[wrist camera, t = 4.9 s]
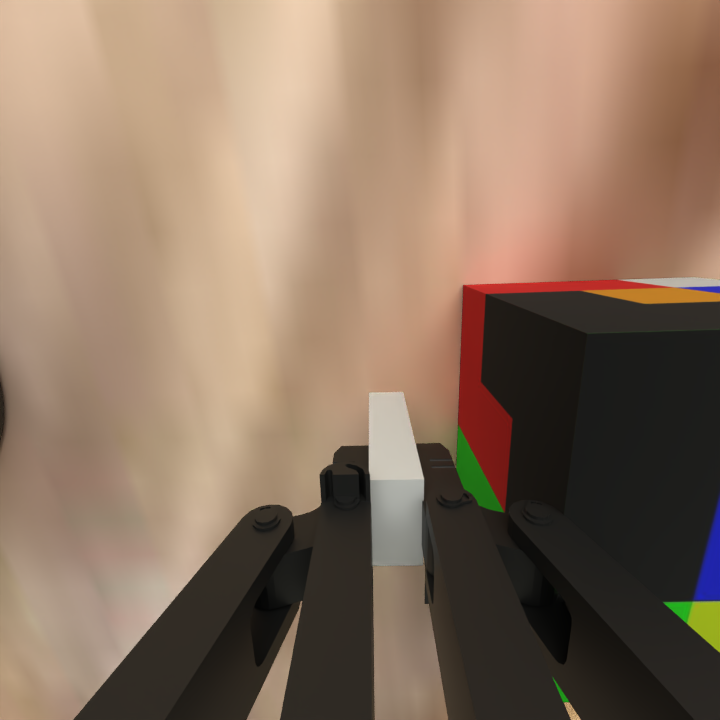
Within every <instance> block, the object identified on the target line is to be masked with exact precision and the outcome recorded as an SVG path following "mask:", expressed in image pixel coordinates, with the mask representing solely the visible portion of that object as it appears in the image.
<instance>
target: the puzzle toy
mask: <svg viewBox="0 0 720 720" xmlns="http://www.w3.org/2000/svg"><path fill="white" fill-rule="evenodd" d="M456 470H457V473H458V475H459V478H460V480H461V483H462V485H463V488H464V489H465V490H467V491H468V492H470V493H471V494H472V495H473V496H474V497H475V499H476V500H477V503H478V505H479V506H482V507H484V508H486V509H490V510H494V511H499V512H504V513H509V507H510V506H511V505H512V504H513V503H515V502H517V501H520V500H535V501H540V502H544V503H546V504H549V505H551V506H553V507H555V508H556V509H558V510H559V511H560V512H562V514H563V515H565V516H566V517H567V518H568V519H570V520H571V521H572V522H573V523H574V524H575V525H576V526H577V527H579V528H580V529H581V530H582V531H583V532H584V533H585V534H586V535H588V536H589V537H590V538H591V539H592V540H593V541H594V542H595V543H597V544H598V545H599V546H600V547H601V548H602V549H603V550H604V551H606V552H607V553H608V554H609V555H610V556H611V557H612V558H613V559H615V560H616V561H617V562H618V563H619V564H620V565H621V566H622V567H624V568H625V569H626V570H627V571H628V572H629V573H630V574H632V575H633V576H634V577H635V578H636V579H637V580H638V581H639V582H641V583H642V584H643V585H644V586H645V587H646V588H647V589H648V590H650V591H651V592H652V593H653V594H654V595H655V596H656V597H657V598H659V599H660V600H661V601H662V602H663V603H664V604H665V605H666V606H668V607H669V608H670V609H671V610H672V611H673V612H674V613H675V614H677V615H678V616H679V617H680V618H681V619H682V620H683V621H684V622H686V623H687V624H688V625H689V626H690V627H691V628H692V629H693V630H695V631H696V632H697V633H698V634H699V635H700V636H701V637H702V638H704V639H705V640H706V641H707V642H708V643H709V644H710V645H711V646H713V647H714V648H715V649H716V650H717V651H718V652H719V653H720V280H719V279H708V278H697V277H688V278H658V279H628V280H599V281H569V282H539V283H509V284H480V285H463V308H462V334H461V360H460V386H459V412H458V438H457V464H456ZM553 680H554V678H553ZM554 682H555V684H556V687H557V689H558V691H559V694H560V696H561V698H562V701H563V702H569V701H568V699H567V698H566V696H565V695H564V693H563V692H562V690H561V689H560V687H559V686H558V684H557V683H556V681H555V680H554Z"/></svg>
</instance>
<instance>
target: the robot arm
mask: <svg viewBox="0 0 720 720" xmlns="http://www.w3.org/2000/svg"><path fill="white" fill-rule="evenodd" d="M3 420H4V407H3V396H2V390H1V385H0V440H1V436H2V430H3ZM320 487H321V506H320V507H318V508H317V509H315V510H313V511H311V512H309V513H306V514H303V515H298V516H294V517H293V516H292V512H291V511H290V510H289V509H287V508H286V507H283V506H280V505H266V506H261V507H258V508H256V509H254V510H252V511H250V512H249V513H248V514H246V515H245V516H244V517H243V518H242V519H241V520H240V522H239V523H238V524H237V525H236V526H235V528H234V529H233V530H232V531H231V532H230V534H229V535H228V536H227V537H226V538H225V540H224V541H223V542H222V543H221V544H220V546H219V547H218V548H217V549H216V550H215V551H214V553H213V554H212V555H211V556H210V557H209V559H208V560H207V561H206V562H205V563H204V565H203V566H202V567H201V568H200V569H199V571H198V572H197V573H196V574H195V575H194V577H193V578H192V579H191V580H190V581H189V582H188V584H187V585H186V586H185V587H184V588H183V590H182V591H181V592H180V593H179V594H178V596H177V597H176V598H175V599H174V600H173V602H172V603H171V604H170V605H169V606H168V608H167V609H166V610H165V611H164V612H163V613H162V615H161V616H160V617H159V618H158V619H157V621H156V622H155V623H154V624H153V625H152V627H151V628H150V629H149V630H148V631H147V633H146V634H145V635H144V636H143V637H142V639H141V640H140V641H139V642H138V643H137V644H136V646H135V647H134V648H133V649H132V650H131V652H130V653H129V654H128V655H127V656H126V658H125V659H124V660H123V661H122V662H121V664H120V665H119V666H118V667H117V668H116V670H115V671H114V672H113V673H112V674H111V675H110V677H109V678H108V679H107V680H106V681H105V683H104V684H103V685H102V686H101V687H100V689H99V690H98V691H97V692H96V693H95V695H94V696H93V697H92V698H91V699H90V701H89V702H88V703H87V704H86V705H85V706H84V708H83V709H82V710H81V711H80V712H79V714H78V715H77V716H76V717H75V718H74V720H246V719H247V717H248V715H249V713H250V711H251V709H252V707H253V705H254V702H255V700H256V698H257V696H258V694H259V692H260V690H261V688H262V686H263V683H264V681H265V679H266V677H267V675H268V673H269V671H270V669H271V666H272V664H273V662H274V660H275V658H276V656H277V654H278V652H279V650H280V647H281V645H282V643H283V641H284V639H285V637H286V635H287V633H288V630H289V628H290V626H291V624H292V622H293V620H294V618H295V616H296V614H297V611H298V609H299V605H300V601H303V602H302V607H301V613H300V618H299V623H298V628H297V634H296V639H295V644H294V649H293V655H292V660H291V665H290V670H289V676H288V681H287V686H286V691H285V697H284V702H283V707H282V712H281V718H280V720H375V713H374V624H373V566H419V565H423V555H424V561H425V604H429V607H430V613H431V619H432V625H433V631H434V637H435V643H436V649H437V655H438V661H439V666H440V672H441V678H442V684H443V690H444V696H445V702H446V708H447V714H448V720H571V719H570V717H569V714H568V712H567V710H566V707H565V705H564V703H563V701H562V698H561V696H560V694H559V691H558V689H557V687H556V684H555V682H554V680H555V681H556V683H557V684H558V686H559V687H560V689H561V690H562V692H563V693H564V695H565V696H566V698H567V699H568V701H569V702H570V704H571V705H572V707H573V708H574V710H575V711H576V713H577V714H578V716H579V717H580V719H581V720H720V653H719V652H718V651H717V650H716V649H715V648H714V647H713V646H711V645H710V644H709V643H708V642H707V641H706V640H705V639H704V638H702V637H701V636H700V635H699V634H698V633H697V632H696V631H695V630H693V629H692V628H691V627H690V626H689V625H688V624H687V623H686V622H684V621H683V620H682V619H681V618H680V617H679V616H678V615H677V614H675V613H674V612H673V611H672V610H671V609H670V608H669V607H668V606H666V605H665V604H664V603H663V602H662V601H661V600H660V599H659V598H657V597H656V596H655V595H654V594H653V593H652V592H651V591H650V590H648V589H647V588H646V587H645V586H644V585H643V584H642V583H641V582H639V581H638V580H637V579H636V578H635V577H634V576H633V575H632V574H630V573H629V572H628V571H627V570H626V569H625V568H624V567H622V566H621V565H620V564H619V563H618V562H617V561H616V560H615V559H613V558H612V557H611V556H610V555H609V554H608V553H607V552H606V551H604V550H603V549H602V548H601V547H600V546H599V545H598V544H597V543H595V542H594V541H593V540H592V539H591V538H590V537H589V536H588V535H586V534H585V533H584V532H583V531H582V530H581V529H580V528H579V527H577V526H576V525H575V524H574V523H573V522H572V521H571V520H570V519H568V518H567V517H566V516H565V515H563V514H562V512H560V511H559V510H558V509H556V508H555V507H553V506H551V505H549V504H546V503H544V502H540V501H535V500H520V501H517V502H515V503H513V504H512V505H511V506H510V507H509V513H504V512H499V511H494V510H490V509H486V508H484V507H482V506H479V505H478V503H477V500H476V499H475V497H474V496H473V495H472V494H471V493H470V492H468V491H467V490H465V489H464V488H463V485H462V483H461V480H460V478H459V475H458V473H457V470H456V468H455V465H454V463H453V460H452V458H451V455H450V453H449V450H448V449H446V448H445V447H444V446H443V445H441V444H440V443H427V444H415V439H414V435H413V431H412V427H411V423H410V419H409V414H408V410H407V406H406V402H405V398H404V394H403V392H371V393H369V446H341V447H340V448H339V449H338V450H337V451H336V452H335V453H334V458H333V464H331V465H329V466H327V467H326V468H324V469H323V470H322V472H321V474H320ZM553 678H554V680H553Z"/></svg>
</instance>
